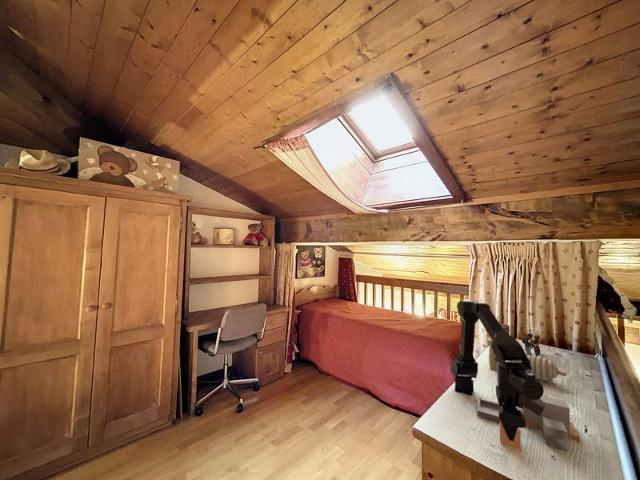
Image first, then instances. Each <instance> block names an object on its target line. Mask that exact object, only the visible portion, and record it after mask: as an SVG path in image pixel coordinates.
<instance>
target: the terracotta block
mask: <svg viewBox="0 0 640 480" xmlns="http://www.w3.org/2000/svg"><path fill="white" fill-rule="evenodd" d="M521 431H522V430H521V428H518V429H517V432H516V435H515V438H514V441H511V440H509V439H508V437H507V434H506V432H505V430H504V428H503V425H502V423H501V421H500V423H499V441H500V445H503V446H505V445H506V447H508V446H509V448H511V447H512V448H511V449H514V448H515V449H514V450H517V449H519V450H518V451H520V450H521V451H522V445H521V444H522V443H521V442H522V439H521V435H522V434H521V433H522V432H521Z"/></svg>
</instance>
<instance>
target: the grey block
mask: <svg viewBox="0 0 640 480" xmlns="http://www.w3.org/2000/svg"><path fill="white" fill-rule="evenodd" d="M542 425H543V431H542V437H543V440H544V443H545V446H547V447H551V448H552V449H553V448H554V449H557V450H560V451H563V452H566V453H567V452H568V451H569V449H568V448H569V446H568V445H569V444H568V441H569V440H568V439H569V438H568V435H567V430H566V428H565V426H564V424H563V422H560V421H556V420H552V419H548V418H545V417H542Z"/></svg>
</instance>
